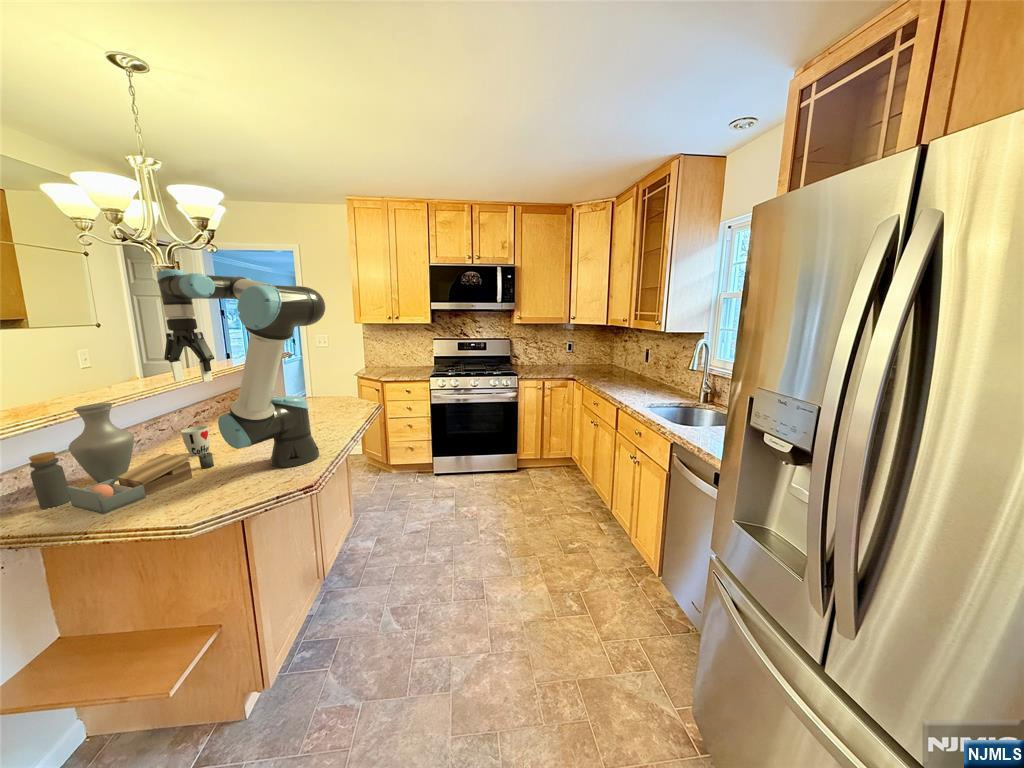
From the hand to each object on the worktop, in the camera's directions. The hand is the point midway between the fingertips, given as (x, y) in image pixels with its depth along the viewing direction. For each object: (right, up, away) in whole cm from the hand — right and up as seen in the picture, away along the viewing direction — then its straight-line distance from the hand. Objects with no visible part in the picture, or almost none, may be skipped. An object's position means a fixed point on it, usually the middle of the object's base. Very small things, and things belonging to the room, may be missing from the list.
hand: (193, 380), depth 131 cm
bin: (-6, -35, -22) cm, 41 cm away
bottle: (-21, -36, -22) cm, 47 cm away
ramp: (-2, -33, -11) cm, 34 cm away
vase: (-22, -33, -6) cm, 40 cm away
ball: (-6, -34, -22) cm, 40 cm away
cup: (-10, -28, +15) cm, 33 cm away
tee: (+3, -30, +2) cm, 30 cm away
